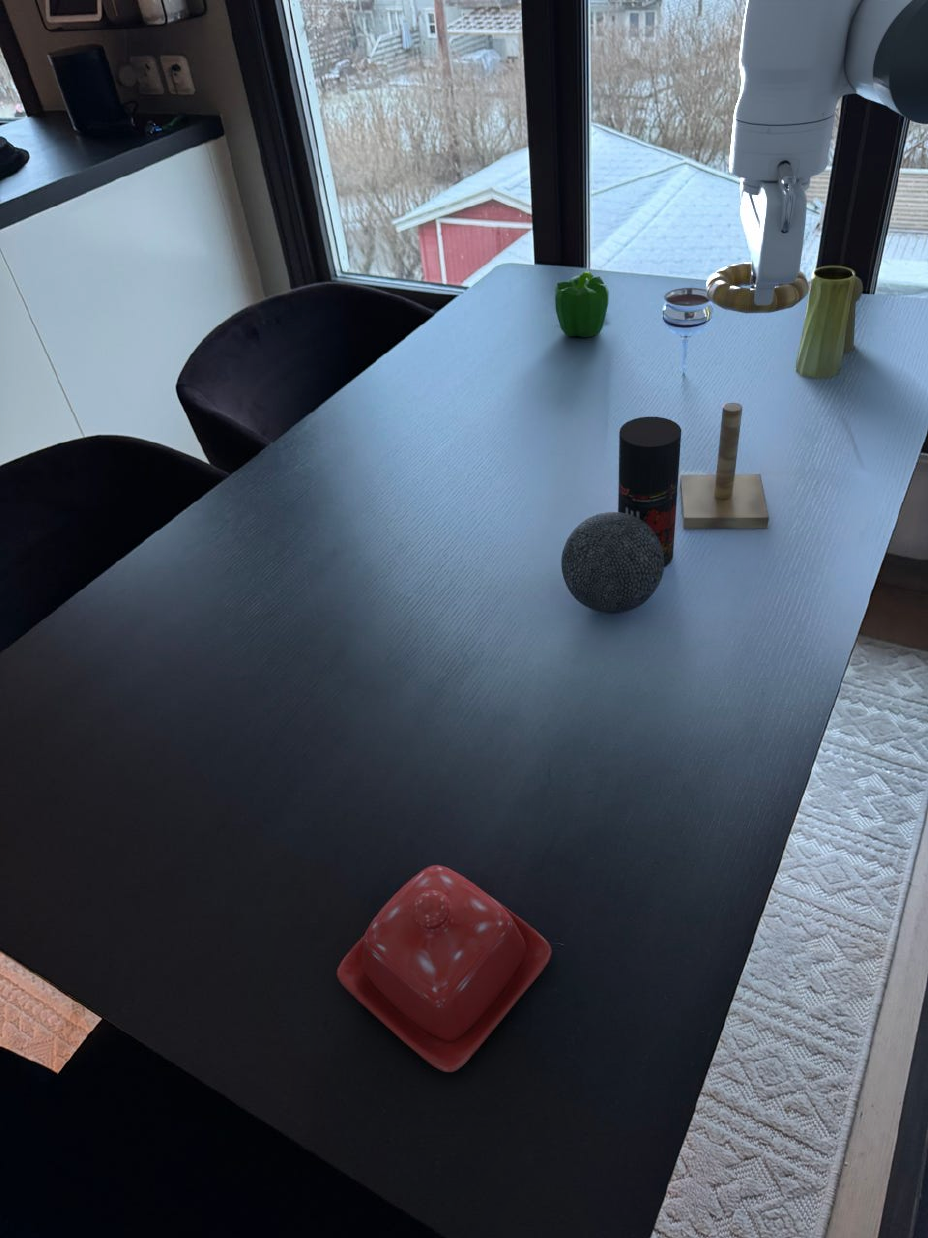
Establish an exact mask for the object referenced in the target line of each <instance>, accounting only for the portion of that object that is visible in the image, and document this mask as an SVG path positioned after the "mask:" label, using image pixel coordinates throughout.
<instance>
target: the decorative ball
mask: <svg viewBox="0 0 928 1238" xmlns="http://www.w3.org/2000/svg"><path fill="white" fill-rule="evenodd" d="M560 563H561V564H560V565H561V566H560V567H561V573H562V577H563V581H564V582H565V586H566V587H567V589H568V591H569V593H570V594H571V595H572V596H573V598H574V599H575V600H576V601H577V602H579V603H580V604H581V605H582V606H584V607H586V608H588V609H590V610H592V611H595V612H598V613H602V614H622V613H623V614H624V613H627V612H629V611H633V610H635V609H638V608H639V607H640V606H642V605H643V604H644V603H646V602H647V601H648V600H649V599H650V598H651V597H652V596H653V595H654V593H655V592H656V590H657V589H658V587H659V585H660V583H661V581H662V578H663V575H664V570H665V567H664V554H663V549H662V546H661V544H660V541H659V539H658V537H657V536H656V534H655V532H654V531H653V530H652V529H651V527H650V526H649V525H647V524H646V523H645V522H644V521H642V520H640V519H639V518H637V517H635V516H632V515H629V514H626V513H621V512H618V511H608V512H607V511H606V512H602V513H597V514H595V515H592V516H590V517H587V518H586V519H584V520H583V521H582V522H580V523H579V524H578V525H577V526H576V527H575V528H574V529H573V530H572V532H571V533H570V535H569V536H568V538H567V539H566V541H565V543H564V546H563V549H562V552H561V560H560Z"/></svg>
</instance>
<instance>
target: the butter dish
mask: <svg viewBox="0 0 928 1238" xmlns="http://www.w3.org/2000/svg"><path fill="white" fill-rule="evenodd" d="M552 953H553V952H552V947H551V945H550V943H549V942H548V940H547V939H546V938H544V937H543V935H541V934H540V933H539V932H538V931H537V930H536V929H535V928H533V927H532V926H530V925H529V923H527V922H526V921H524V920H523V919H522V918H520V917H519V916H518V915H517V914H515V913H514V912H513V911H512V910H509V909H508V908H507V907H506V906H505V905H504V904H502V903H500V902H499V901H498V900H496V898H494V897H493V896H491V895H489V894H488V893H487V892H485V891H484V890H482V889H481V888H480V887H479V886H478V885H476V884H475V883H473V882H472V881H470V880H469V879H467V878H466V877H465V876H463V875H461V874H460V873H458V872H456V871H455V870H453V869H451V868H449V867H446V866H444V865H439V864H434V865H430V866H428V867H426V868H424V869H422V870H421V871H420V872H418V873H417V874H416V875H415V876H413V877H412V878H411V879H410V880H409V881H407V882H406V883H405V884H404V885H403V886H402V887H401V888H400V889H399V890H397V892H396V893H395V894H394V895H393V896H392V897H391V898H390V899H389V900H388V901H387V902H386V903H385V904H384V906H383V907H382V908H381V909H380V910H379V912H378V913H377V915H376V916H375V917H374V918H373V920H372V921H371V923H370V924H369V926H368V928H367V929H366V931H365V933H364V935H363V936H362V937H361V938H360V940H358V941H357V942H356V943H355V944H354V945H353V946H352V948H351V949H350V951H348V952H347V954H346V955H345V957H344V958H343V960H342V961H341V963H340V964H339V966H338V967H337V970H336V977H337V979H338V981H339V982H340V984H341V985H342V986H343V987H344V988H345V989H346V990H347V991H348V993H349V994H350V995H351V996H353V997H354V998H355V999H356V1000H357V1001H358V1002H359V1003H360V1004H361V1005H362V1006H364V1007H365V1008H366V1009H367V1010H368V1011H369V1012H370V1013H371V1014H373V1015H374V1016H375V1017H376V1018H377V1019H378V1020H379V1021H380V1022H381V1023H382V1024H383V1025H384V1026H385V1027H386V1028H388V1030H390V1031H391V1032H392V1033H393V1034H394V1035H395V1036H396V1037H398V1038H399V1039H400V1040H401V1041H402V1042H403V1043H405V1045H407V1046H408V1047H409V1048H410V1049H411V1050H412V1051H414V1052H415V1053H416V1054H417V1055H418V1056H420V1057H421V1058H422V1059H423V1060H424V1061H426V1062H427V1063H429V1064H430V1065H431V1066H432V1067H434V1068H436V1069H438V1070H439V1071H442V1072H444V1073H454V1072H456V1071H458V1070H459V1069H460V1068H462V1067H463V1066H464V1065H465V1064H466V1063H467V1061H469V1060H470V1059H471V1058H472V1056H473V1055H474V1054H475V1053H476V1052H477V1051H478V1050H479V1048H480V1047H481V1045H483V1043H484V1042H485V1040H487V1038H488V1037H489V1035H490V1034H491V1033H492V1032H493V1031H494V1030H495V1029H496V1028H497V1026H498V1025H499V1024H500V1023H501V1022H502V1020H503V1019H504V1018H505V1017H506V1016H507V1014H508V1013H509V1012H510V1011H511V1009H512V1008H513V1007H514V1006H515V1004H516V1003H517V1002H518V1001H519V999H520V998H521V997H522V996H523V995H524V993H525V992H526V991H527V990H528V989H529V987H530V986H531V985H532V984H533V983H534V982H535V980H536V979H537V978H538V977H539V976H540V975H541V974H542V972H543V971H544V970H545V968H546V967H547V964H548V963H549V961H550V959H551V956H552Z"/></svg>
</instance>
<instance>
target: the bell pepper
mask: <svg viewBox="0 0 928 1238" xmlns="http://www.w3.org/2000/svg"><path fill="white" fill-rule="evenodd" d="M609 292H610V291H609V289H608V287H607V284H605V283H604V281H603V279H602V278H601V276H594V274H593V273H592V272H590V271H587V270H586V271H583V272H581V273H580V275H575V276H574V277H572V278H570V279H569V281H561V282H557V283H556V286H555V289H554V303H555V313H556V317H557V321H558V324H559V327H560V330H561V331H562V332H563V333H564V335H566V336H567V337H577V336H578V337H580V338H590V337H591V338H592V337H595V336H597V335H599V334H600V332H601V331H602V329H603V327H604V323H605V319H606V315H607V311H608V307H609V295H610V294H609Z"/></svg>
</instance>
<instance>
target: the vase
mask: <svg viewBox="0 0 928 1238" xmlns="http://www.w3.org/2000/svg"><path fill="white" fill-rule="evenodd" d="M855 276H856V271H855V270H854V269H852V268H849V267H846V266H842V265H825V266H820V267H817V268H815V269H814V270H813V271H812V273H811V276H810V284H809V290H808V297H807V303H806V309H805V310H806V311H805V316H804V322H803V327H802V332H801V337H800V341H799V346H798V350H797V357H796V360H795V365H794V368H795V372H796V373H798V374H800V376H802V377H806V378H811V379H829V378H833V377H835V376H837V375H839V372H840V371H841V369H842V368H841V367H842V363H843V356H844V354H843V348H844V340H845V333H846V326H847V320H848V314H849V308H850V302H851V296H852V290H853V284H854V279H855Z"/></svg>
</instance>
